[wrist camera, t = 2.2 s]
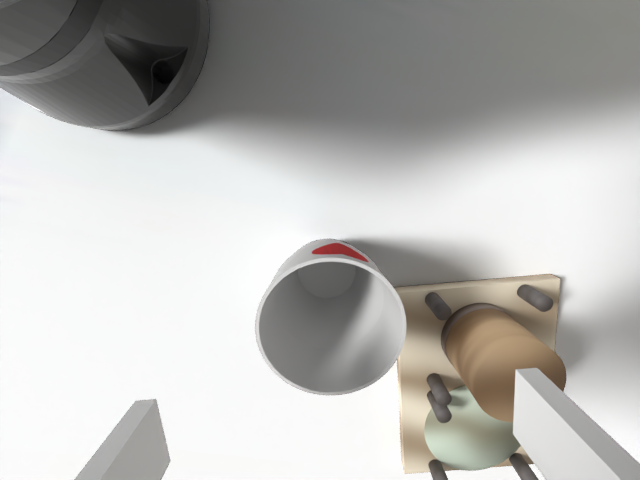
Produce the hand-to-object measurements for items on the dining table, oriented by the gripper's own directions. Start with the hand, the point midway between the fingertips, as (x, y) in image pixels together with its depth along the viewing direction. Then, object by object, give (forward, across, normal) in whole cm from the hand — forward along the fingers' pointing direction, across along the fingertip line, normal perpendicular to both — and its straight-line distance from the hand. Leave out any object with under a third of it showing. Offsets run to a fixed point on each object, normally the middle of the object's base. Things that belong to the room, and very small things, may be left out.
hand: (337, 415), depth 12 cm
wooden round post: (+15, +12, -6) cm, 20 cm away
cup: (+16, 0, 0) cm, 16 cm away
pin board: (+16, +12, -11) cm, 23 cm away
